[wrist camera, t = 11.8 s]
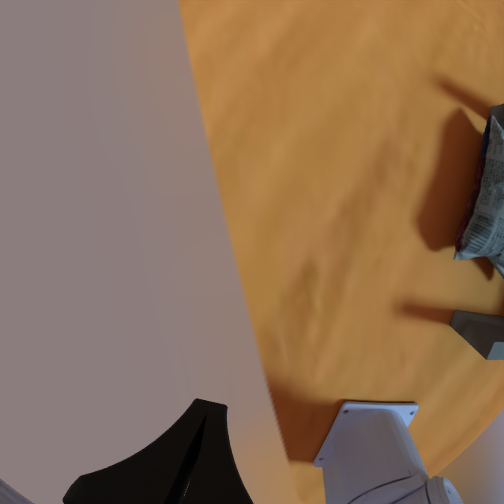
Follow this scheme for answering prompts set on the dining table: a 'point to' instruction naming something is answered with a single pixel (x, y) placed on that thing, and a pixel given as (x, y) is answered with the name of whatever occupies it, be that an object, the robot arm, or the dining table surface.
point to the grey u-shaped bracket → (482, 325)
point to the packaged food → (486, 204)
